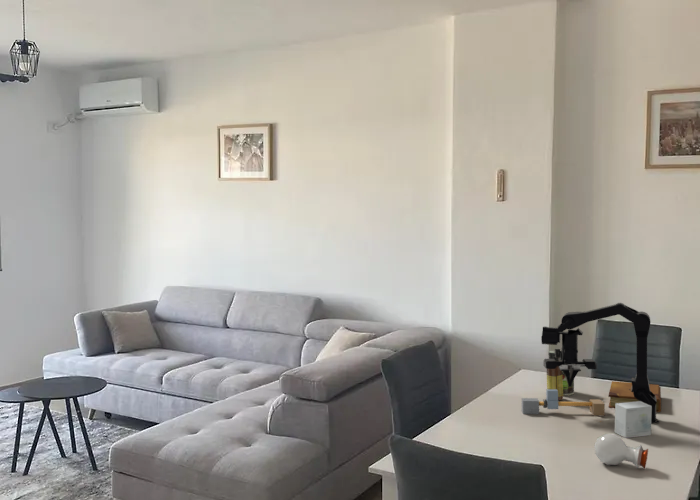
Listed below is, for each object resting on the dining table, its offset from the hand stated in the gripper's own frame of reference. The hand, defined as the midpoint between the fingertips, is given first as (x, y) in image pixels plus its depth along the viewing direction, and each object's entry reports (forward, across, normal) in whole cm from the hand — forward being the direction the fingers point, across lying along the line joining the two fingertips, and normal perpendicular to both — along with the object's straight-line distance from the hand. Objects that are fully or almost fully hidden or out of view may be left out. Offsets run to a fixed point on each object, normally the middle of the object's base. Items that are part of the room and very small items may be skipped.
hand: (569, 386), depth 260 cm
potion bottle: (+10, -4, +54) cm, 55 cm away
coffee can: (+11, -3, -30) cm, 32 cm away
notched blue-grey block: (+8, +7, 0) cm, 11 cm away
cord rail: (+10, +2, 0) cm, 11 cm away
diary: (+11, -29, -16) cm, 35 cm away
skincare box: (+10, -16, +24) cm, 31 cm away
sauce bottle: (+11, +2, -19) cm, 22 cm away
